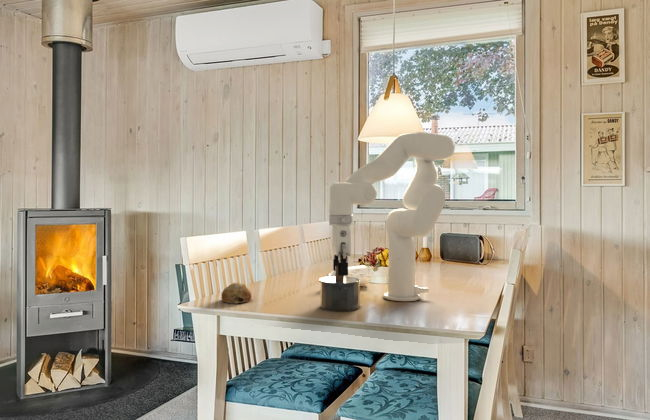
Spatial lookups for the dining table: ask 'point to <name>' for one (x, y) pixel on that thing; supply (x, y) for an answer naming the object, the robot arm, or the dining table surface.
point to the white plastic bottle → (357, 274)
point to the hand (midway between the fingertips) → (340, 273)
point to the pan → (340, 297)
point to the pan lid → (339, 279)
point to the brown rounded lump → (236, 293)
